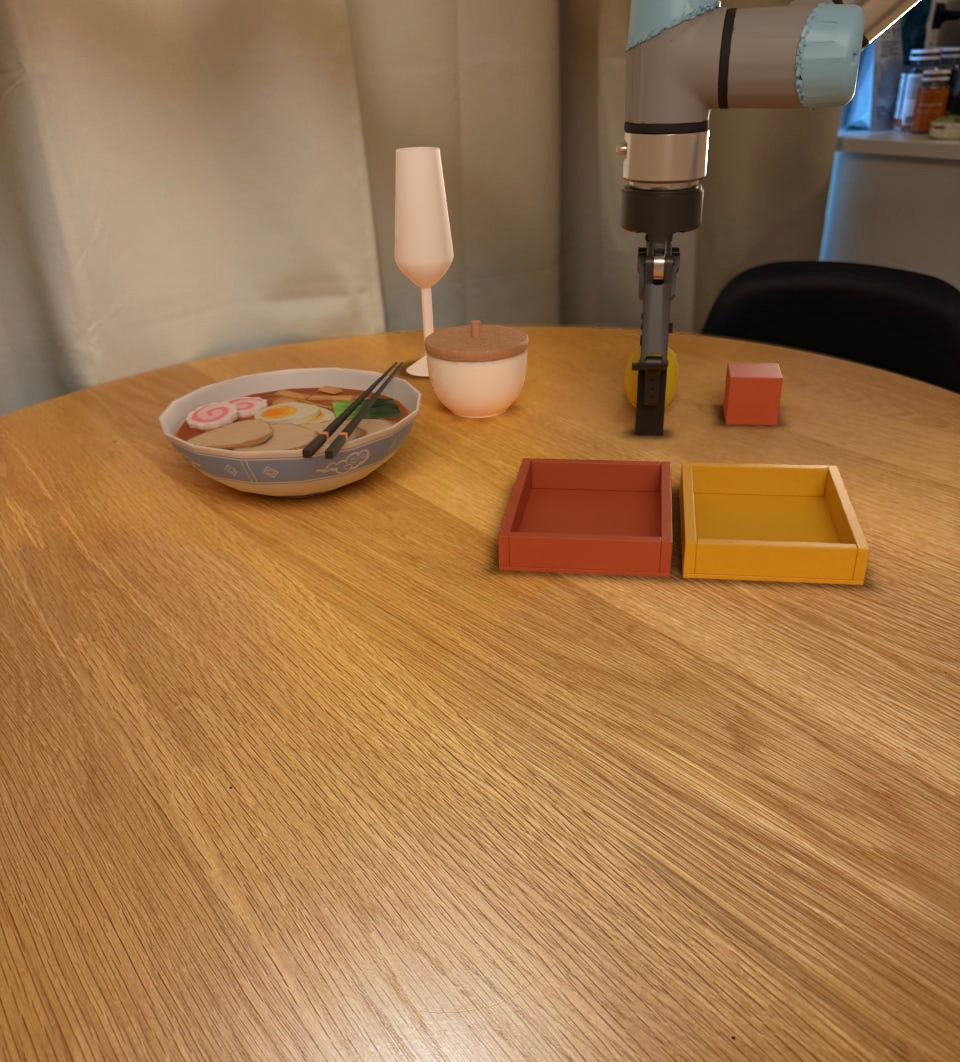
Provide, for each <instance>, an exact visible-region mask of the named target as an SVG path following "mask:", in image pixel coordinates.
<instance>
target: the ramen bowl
mask: <svg viewBox="0 0 960 1062" xmlns="http://www.w3.org/2000/svg"><path fill="white" fill-rule="evenodd" d="M403 363H404V362H403V361H401V362H400V363H399V364H398V361H396V362H394V363H393V364H392V365H391V366H390V367H389V368H388V369H387V370H385V372H383V373H382V372H379V371H375V370H365V369H357V368H356V369H355V368H346V367H335V366H333V367H332V366H331V367H307V368H305V367H304V368H303V367H302V368H301V367H300V368H286V369H278V370H271V371H264V372H256V373H249V374H243V375H239V376H236V377H231V378H228V379H225V380H220V381H217V382H214V383H210V384H207V385H202V386H200V387H199V388H197V389H194V390H191V391H190V392H188V393H186V394H183V395H181V396H179V397H178V398H175V399H173V400H171V401H170V403H169V404H168V405H167V406H166V407H165V409H164V410H163V411H162V412H161V413H160V414H159V416H158V417H157V418H158V419H157V420H158V421H159V425H160V427H161V429H162V432H163V434H164V436H165V438H166V439H167V440H168V441H169V443H170V444H171V445H172V447H173V448H174V450H176V452H178V454H179V455H181V456H182V458H184V460H186V461H187V462H188V463H189V464H190V465H191V466H192V467H193V468H195V469H196V470H197V471H199V472H200V473H201V474H202V475H204V476H206V477H208V478H209V479H212V480H214V481H216V482H219V483H221V484H223V485H225V486H227V487H229V488H232V489H234V490H237V491H239V492H245V493H251V494H258V495H263V496H269V497H270V496H271V497H278V498H284V499H301V498H303V499H304V498H310V497H315V496H321V495H324V494H326V493H329V492H331V491H334V490H337V489H339V488H341V487H344V486H346V485H347V486H348V485H349V484H353V483H355V482H357V481H360V480H362V479H364V478H366V477H367V476H368V475H370V474H371V473H372V472H374V471H376V470H377V469H378V468H379V467H381V466H382V465H383V464H385V463H386V462H388V461H389V460H390V459H391V458H393V457H394V455H395V454H396V453H397V451H398V450H399V449H400V448H401V446H402V445H403V444H404V442H405V440H406V438H407V437H408V435H409V434H410V432H411V430H412V428H413V427H414V424H415V421H416V419H417V416H418V414H419V412H420V407H421V406H420V405H421V400H422V392H421V391H419V390H418V389H417V388H416V387H415V386H414V385H412V384H411V383H410V382H409V381H408V380H407V379H403V378H400V377H396V376H395V375H396V374H397V373H398V371H399V369H400V368H401V367H402V366H403ZM397 364H398V365H397ZM396 366H397V367H396ZM395 367H396V368H395ZM393 368H395V369H394V370H393ZM392 370H393V371H392ZM391 371H392V372H391ZM390 372H391V374H390V375H389V373H390Z"/></svg>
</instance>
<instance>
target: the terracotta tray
mask: <svg viewBox="0 0 960 1062" xmlns="http://www.w3.org/2000/svg"><path fill="white" fill-rule="evenodd" d="M513 484H514V485H513V488H512V491H511V494H510V496H509V500H508V503H507V507H506V509H505V510H506V511H505V513H504V516H503V519H502V522H501V527H500V529H499V531H498V535H497V539H498V540H497V547H498V548H497V549H498V551H497V552H498V570H499V571H516V572H538V573H540V572H542V573H562V574H563V573H564V574H585V575H586V574H588V575H610V576H634V577H635V576H637V577H657V578H658V577H660V578H662V577H663V578H670V577H671V571H672V558H673V557H672V556H673V543H674V542H673V539H674V538H673V499H672V498H673V496H672V462H671V461H660V460H659V461H656V460H655V461H652V460H619V459H618V460H613V459H608V460H607V459H578V458H577V459H576V458H575V459H573V458H539V457H538V458H537V457H536V458H532V457H523V458H522V460H521V463H520V466H519V469H518V472H517V475H516V479H515V482H514V483H513Z"/></svg>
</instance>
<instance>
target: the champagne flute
mask: <svg viewBox="0 0 960 1062" xmlns="http://www.w3.org/2000/svg"><path fill="white" fill-rule="evenodd" d="M443 170H444V169H443V164H442V156H441V148H440V147H437V146H413V147H402V148H397V149H395V174H394V175H395V180H394V181H395V182H394V253H393V254H394V255H393V256H394V262H395V265H396V266H397V267H398V269H399V270H400V271H401V273H402V274H403V275H404V276H405V277H406V278H407V279H408V280H410V282H411V283H413V284H414V285H415V286H417V287H419V288H420V294H421V295H420V296H421V310H422V311H421V313H422V329H423V345H424V347H425V343H424V341H425V339H426V337H427V336H429V335H430V334H432V333H434V332H435V330H434V317H433V316H434V315H433V299H432V297H433V295H432V287H434V286H435V285H436V284H437V283H439V282H440V280H441V279H443V277H444V276H445V275H446V273H447V272H448V271H449V269H450V267H451V266H452V263H453V261H454V257H455V254H454V247H453V246H454V245H453V238H452V232H451V231H452V230H451V223H450V217H449V209H448V201H447V194H446V193H447V192H446V186H445V179H444V171H443ZM405 370H406V371H405V372H407V374H409V375H411V376H416V377H417V376H418V377H429V373H428V367H427V356H426V351H425V350H424V356H422V357H421V358H420V359H418V360H416V361H415V362H414V363H412V364H411V365H410V366H408V367H407V368H406V369H405Z"/></svg>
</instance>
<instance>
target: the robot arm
mask: <svg viewBox="0 0 960 1062" xmlns="http://www.w3.org/2000/svg"><path fill="white" fill-rule="evenodd" d="M920 1H921V0H792V1H791V2H789V3H788V4H787V5H775V6H760V7H759V6H758V7H747V8H746V7H744V8H738V7H729V6H721V4H722V1H721V0H630V10H629V18H628V20H629V21H628V29H627V31H628V32H627V42H626V43H627V44H626V45H625V84H624V85H625V91H624V92H625V93H624V123H623V131H624V133H623V135H624V136H623V138H624V141H625V142H620V143H618V144H617V145H616V147H615V148H616V149H615V152H616V154H617V155H619V156H624V155H625V157H624V158H623V160H622V178H623V179H624V180H625V181H627V182H628V184H626V185H624V186H623V188H622V189H621V190H620V215H619V216H620V217H619V218H620V219H619V224H620V226H621V228H622V229H623V230H624V231H627V232H630V233H635V234H642V233H644V234H645V235H644V240H645V242H646V246H645V247H644V246H638V247H637V263H636V267H637V268H636V272H637V273H638V275H639V277H638V299H639V300H640V301H641V302H642V313H641V315H640V319H641V324H640V330H641V334H640V337H639V346H641V357H640V360H639V362H632V371H638V383H637V403H636V408H635V425H634V436H647V437H648V436H649V437H650V436H654V437H655V436H656V437H657V436H658V437H663V436H664V423H665V410H666V408H665V395H666V379H667V367H668V363H669V360H668V359H667V353H668V347H669V336H670V335H669V334H673V331H674V330H673V329H674V328H673V327H674V324H673V322H670V317H671V316H670V315H671V302H672V301H674V299H675V297H676V291H677V289H676V288H677V274H679V273H678V272H679V270H680V265H681V263H680V262H681V251H680V246H673V239H674V234H676V233H682V234H685V233H689V232H692V231H695V230H697V229H698V228H700V227H701V224H702V220H703V210H704V209H703V207H704V196H705V195H704V194H705V188H703V185H702V184H700V183H699V181H701V180H703V179H704V178H705V177H706V175H707V166H708V150H709V137H710V129H709V128H710V114H711V111H712V110H713V109H720V110H728V109H805V110H806V111H811V112H812V111H814V110H816V109H817V110H818V109H824V108H840V107H844V106H846V105H848V104H849V103H850V102H851V101H852V100H853V99H854V96H855V93H856V86H857V81H858V73H859V67H860V60H861V53H862V52H863V51H864V49H865V48H866V47H867V46H869V45H870V44H871V43H872V42H873V41H874V40H875V39H877V38H878V37H879V36H881V35H882V34H883V33H884V32H885V31H886V30H888V29H889V28H890V27H892V25H894V24H895V23H896V22H897V21H898V20H899V19H900V18H902V17H903V16H904V15H905V14H906V13H907V12H909V11H910V10H911V9H912V8H913V7H915V6H916V5H917V4H918V3H919V2H920ZM648 354H660V355H661V356H646V355H648Z"/></svg>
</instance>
